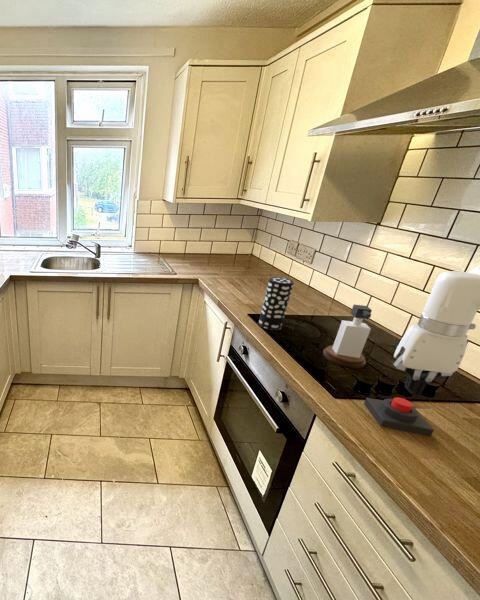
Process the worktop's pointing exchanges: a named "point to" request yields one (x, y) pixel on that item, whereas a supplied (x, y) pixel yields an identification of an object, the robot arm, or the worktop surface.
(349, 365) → the base
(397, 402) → the button
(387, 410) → the grey stepped base
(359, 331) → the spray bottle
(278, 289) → the spotted tube
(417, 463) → the worktop surface
